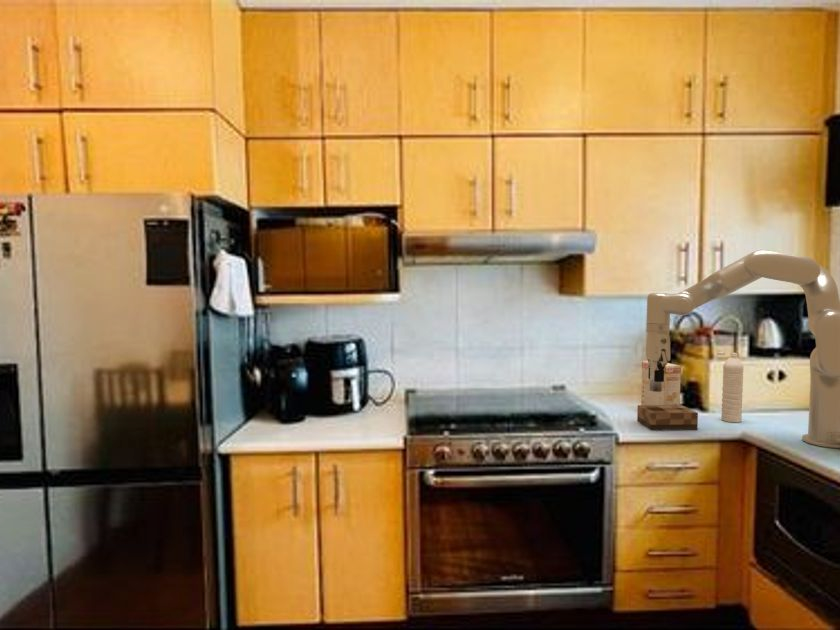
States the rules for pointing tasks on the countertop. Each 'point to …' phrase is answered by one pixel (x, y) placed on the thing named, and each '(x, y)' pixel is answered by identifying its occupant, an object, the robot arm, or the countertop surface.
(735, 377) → the water bottle
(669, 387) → the coffeecake box
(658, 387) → the steel pin
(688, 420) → the walnut block
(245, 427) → the countertop surface
